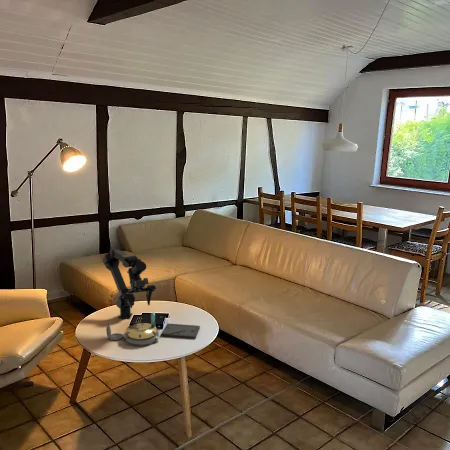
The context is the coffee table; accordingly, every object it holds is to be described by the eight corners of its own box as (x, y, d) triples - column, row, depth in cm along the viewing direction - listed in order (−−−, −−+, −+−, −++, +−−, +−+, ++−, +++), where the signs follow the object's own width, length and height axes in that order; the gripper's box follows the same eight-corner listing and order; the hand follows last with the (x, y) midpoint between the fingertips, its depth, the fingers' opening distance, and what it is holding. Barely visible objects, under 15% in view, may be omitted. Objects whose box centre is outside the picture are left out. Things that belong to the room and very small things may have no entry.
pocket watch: (125, 337, 227) (125, 318, 225) (113, 343, 220) (112, 324, 218) (113, 333, 231) (113, 315, 229) (101, 339, 224) (100, 320, 222)
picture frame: (161, 337, 229) (195, 340, 227) (161, 333, 229) (195, 336, 227) (167, 326, 242) (199, 329, 240) (167, 322, 242) (200, 325, 240)
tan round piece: (129, 327, 233) (129, 309, 231) (158, 327, 233) (158, 310, 231) (123, 340, 218) (122, 322, 216) (154, 341, 218) (153, 322, 216)
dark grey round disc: (128, 331, 234) (128, 326, 234) (161, 331, 234) (161, 327, 234) (120, 346, 218) (120, 341, 217) (157, 346, 218) (157, 341, 217)
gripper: (121, 274, 227) (126, 304, 221) (156, 270, 236) (162, 299, 230) (116, 282, 235) (121, 311, 230) (150, 278, 244) (155, 305, 239)
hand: (140, 306), depth 232 cm, fingers open, 9 cm apart
